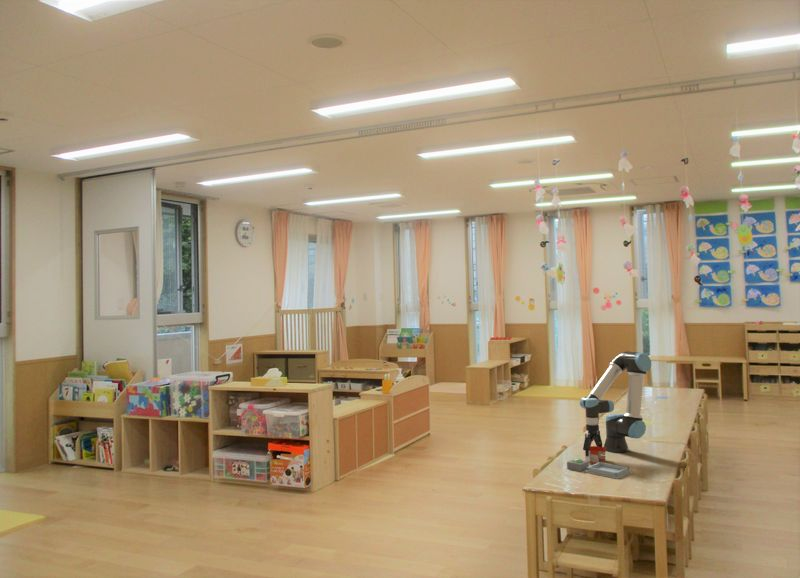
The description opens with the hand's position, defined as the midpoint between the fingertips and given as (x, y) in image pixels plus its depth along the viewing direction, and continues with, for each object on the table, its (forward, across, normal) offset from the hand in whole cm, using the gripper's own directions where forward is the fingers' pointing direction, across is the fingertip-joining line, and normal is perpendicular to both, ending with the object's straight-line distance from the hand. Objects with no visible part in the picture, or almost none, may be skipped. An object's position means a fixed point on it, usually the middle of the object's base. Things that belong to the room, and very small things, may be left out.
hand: (593, 459), depth 385 cm
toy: (+1, 0, +1) cm, 1 cm away
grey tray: (+1, +18, +19) cm, 26 cm away
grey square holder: (+1, +21, +2) cm, 22 cm away
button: (0, +21, +2) cm, 22 cm away
